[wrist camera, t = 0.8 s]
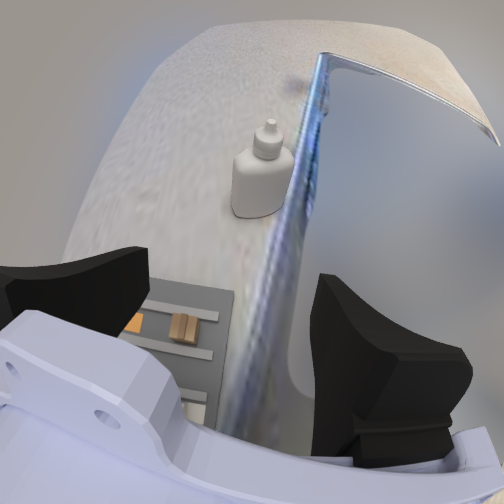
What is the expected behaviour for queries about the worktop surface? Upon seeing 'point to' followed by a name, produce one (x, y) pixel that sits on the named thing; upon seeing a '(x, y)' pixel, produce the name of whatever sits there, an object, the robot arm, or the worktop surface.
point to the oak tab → (184, 328)
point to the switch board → (181, 354)
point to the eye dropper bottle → (261, 174)
